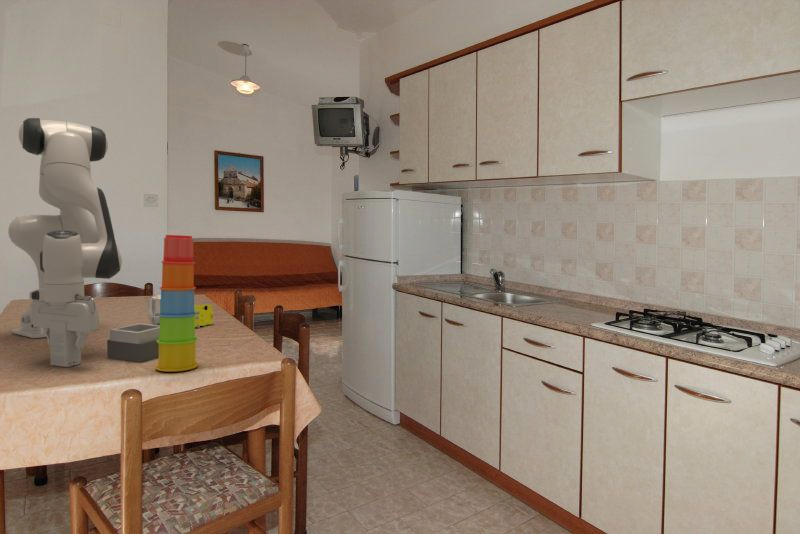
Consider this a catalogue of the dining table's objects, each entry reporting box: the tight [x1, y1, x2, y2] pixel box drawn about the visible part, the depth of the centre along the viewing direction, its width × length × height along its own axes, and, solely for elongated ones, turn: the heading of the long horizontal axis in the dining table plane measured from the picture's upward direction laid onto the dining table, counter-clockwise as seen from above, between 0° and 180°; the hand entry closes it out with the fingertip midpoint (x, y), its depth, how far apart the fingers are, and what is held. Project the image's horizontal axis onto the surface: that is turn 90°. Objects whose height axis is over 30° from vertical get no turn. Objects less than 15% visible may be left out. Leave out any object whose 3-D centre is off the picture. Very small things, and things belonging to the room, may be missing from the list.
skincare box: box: [49, 320, 82, 368], centre depth 132 cm, size 6×4×12 cm
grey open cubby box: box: [106, 322, 160, 363], centre depth 142 cm, size 12×10×9 cm
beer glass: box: [146, 295, 161, 326], centre depth 154 cm, size 7×7×15 cm
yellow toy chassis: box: [194, 303, 214, 329], centre depth 181 cm, size 16×6×8 cm, turn 154°
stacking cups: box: [155, 234, 199, 373], centre depth 130 cm, size 10×10×35 cm
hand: (65, 346), depth 132 cm, fingers open, 8 cm apart
